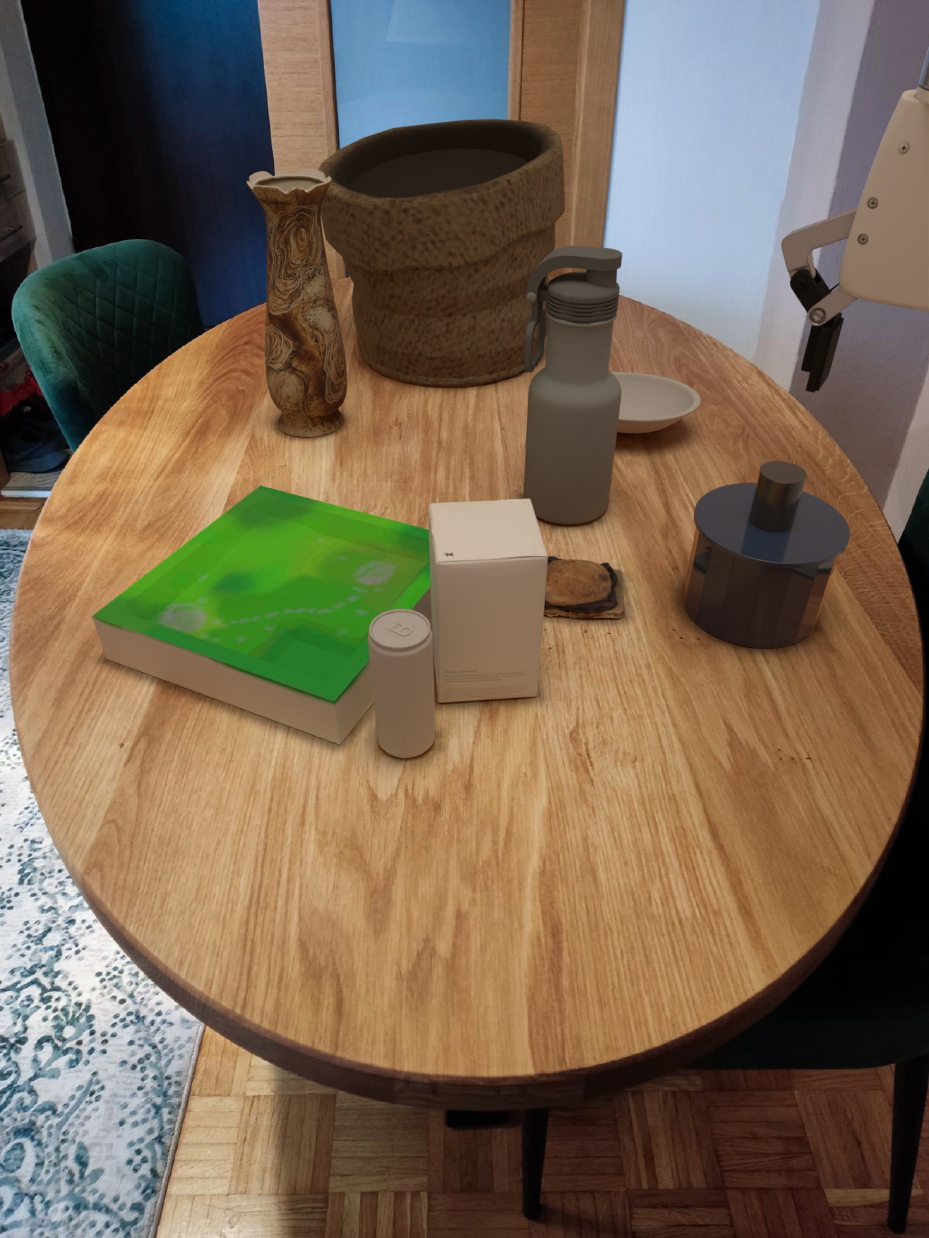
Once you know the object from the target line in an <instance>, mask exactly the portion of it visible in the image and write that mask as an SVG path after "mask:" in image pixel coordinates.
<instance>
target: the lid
mask: <svg viewBox="0 0 929 1238" xmlns="http://www.w3.org/2000/svg"><path fill="white" fill-rule="evenodd" d="M807 477H808V473H807V471H806V470H805V469H804V468H803V467H801V466H800V465H798V464H795V463H793V462H790V461H783V460H771V461H766V462H764V463H762V464H761V465H760V467H759V469H758V474H757V477H756V482H738V483H737V482H736V483H731V484H726V485H721V486H719V487H717V488H714V489H711V490H710V491H708V492H706V493H705V494H703V495H702V496H701V497H700V498H699V499H698V500H697V502H696V503H695V506H694V510H693V523H694V526H695V529H696V528H697V530H698V531H699V533H700V534H701V535H702V536H703V537H704V539H705V540H706V541H708V542H709V543H710V544H711V545H713V546H714V547H716V548H717V549H719V550H721V551H722V552H724V553H726V554H728V555H731V556H733V557H735V558H738V559H741V560H744V561H747V562H750V563H754V564H758V565H763V566H768V567H777V568H805V567H812V566H817V565H821V564H824V563H827V562H829V561H831V560H833V559H835V558H836V557H839V556H841V555H842V553H844V551H845V550H846V549H847V547H848V545H849V541H850V538H851V530H850V526H849V524H848V522H847V520H846V518H845V517H844V516H843V515H842V513H840V512H839V511H838V510H837V509H836V508H835V507H834V506H833V505H831V504H830V503H828V502H826V501H825V500H823V499H821V498H820V497H817V496H815V495H814V494H811V493H808V492H806V491H804V490H805V485H806V481H807Z"/></svg>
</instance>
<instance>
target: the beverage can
mask: <svg viewBox="0 0 929 1238" xmlns="http://www.w3.org/2000/svg"><path fill="white" fill-rule="evenodd" d="M368 645H369V656H370V666H371V677H372V688H373V699H374V703H373V707H374V719H375V720H374V721H375V731H376V740H377V743H378V745H379V746H380V748H381V749H382V750H383V751H385V752H386V753H387V754H389V755H391V756H394V757H396V758H401V759H410V758H415V757H417V756H420V755H422V754H425V752H427V751H428V750H429V749H430V748H431V747H432V745H433V744H434V742H435V739H436V720H435V719H436V712H435V711H436V710H435V709H436V707H435V676H434V675H435V674H434V673H435V667H434V655H433V637H432V629H431V628H430V623H429V621H428V619H427V618H426V617H425V616H424V615H422V614H421V613H419V612H416V611H413V610H409V609H394V610H389V611H386V612H384V613H381V614H380V615H378V616H377V617H376V618H375V619H374V620H373V621H372V622H371V624H370V627H369V633H368Z"/></svg>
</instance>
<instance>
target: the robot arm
mask: <svg viewBox="0 0 929 1238" xmlns="http://www.w3.org/2000/svg"><path fill="white" fill-rule="evenodd" d="M859 199H860V200H859V202H858V206H857V207H856V208H853V209H849V210H847V211H845V212H842V213H841V212H840V213H839V214H835V215H833V216H829V217H827V218H825V219H822V220H819V221H816V222H814V223H811V224H807V225H805V226H803V227H799V228H797V229H794V230H791V231H790V232H789V233H788V234H786V235H785V236H784V238H783V239H782V240H781V243H780V248H781V252H782V256H783V259H784V264H785V267H786V271H787V273H788V275H789V279H790V280H789V286H790V289H791V291H792V293H794V295H795V296H796V299H797V300H798V301H799V303H800V304H801V306H802V308H803V309H804V310H805V312H806V313H807V315H806V316H807V318H806V319H807V321H808V323H809V324H811V326H810V330H809V334H808V339H807V342H806V346H805V350H804V354H803V357H802V363H801V367H800V371H801V372H805V373H806V372H807V373H809V375H808V378H807V382H806V385H805V386H806V387H805V392H808V393H814V394H815V393H816V392H819V391H820V390H821V388H822V387H823V385H824V384H825V382H826V380H827V379H828V378H829V375H830V373H831V369H832V365H833V361H834V358H835V354H836V351H837V347H838V343H839V339H840V335H841V333H842V328H843V325H844V320H845V317H842V316H843V313H842V311H843V310H845V309H846V308H847V307H849V306H850V305H851V304H853V303H854V302H856V301H857V300H862V301H866V302H869V303H870V302H871V303H874V304H875V303H876V304H881V305H886V306H892V307H898V308H903V309H911V310H916V311H921V312H927V313H929V46H928V48H927V51H926V55H925V59H924V62H923V65H922V69H921V73H920V77H919V79H918V84H917V87H916V89H908V90H905V91H903V92H902V94H901V95H900V98H899V100H898V102H897V104H896V106H895V108H894V110H893V113H892V115H891V117H890V119H889V121H888V124H887V126H886V128H885V130H884V133H883V136H882V138H881V141H880V143H879V146H878V149H877V151H876V154H875V156H874V159H873V162H872V164H871V168H870V169H869V173H868V176H867V178H866V181H865V184H864V187H863V189H862V194H861V196H860V198H859ZM846 239H847V240H846ZM843 240H846V244H845V246H844V247H845V248H844V251H843V255H842V259H841V263H840V268H839V274H838V282H836V283H835V284H833V285H832V286H831V287H829V286H828V285H827V282H826V281H825V280H824V278H823V277H822V274H821V273H820V272H819V270H818V269H817V268H816V267H815V263H814V256H813V251H814V250H817V249H819V248H823V247H825V246H828V245H832V244H834V243H837V242H840V241H843Z"/></svg>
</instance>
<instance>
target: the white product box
mask: <svg viewBox="0 0 929 1238" xmlns="http://www.w3.org/2000/svg"><path fill="white" fill-rule="evenodd" d="M427 514H428V530H429V552H430V585H431V618H432V629H431V630H432V637H433V667H434V673H435V674H434V675H435V676H434V677H435V685H436V693H437V695H436V696H437V700H438V703H454V702H470V701H485V700H487V701H488V700H502V699H515V698H517V699H518V698H534V697H537V696H539V695H538V694H539V683H540V682H539V681H540V667H541V654H542V640H543V629H544V628H543V627H544V616H545V615H544V603H545V590H546V577H547V563H548V556H549V555H548V553H547V549H546V546H545V542H544V540H543V536H542V532H541V529H540V526H539V521H538V519H537V516H536V515H535V512H534V509H533V506H532V503H531V500H530V499H524V498H511V499H510V498H509V499H498V500H497V499H496V500H495V499H494V500H477V501H475V500H473V501H448V502H447V501H446V502H432V503H430V504H428V513H427Z"/></svg>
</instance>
